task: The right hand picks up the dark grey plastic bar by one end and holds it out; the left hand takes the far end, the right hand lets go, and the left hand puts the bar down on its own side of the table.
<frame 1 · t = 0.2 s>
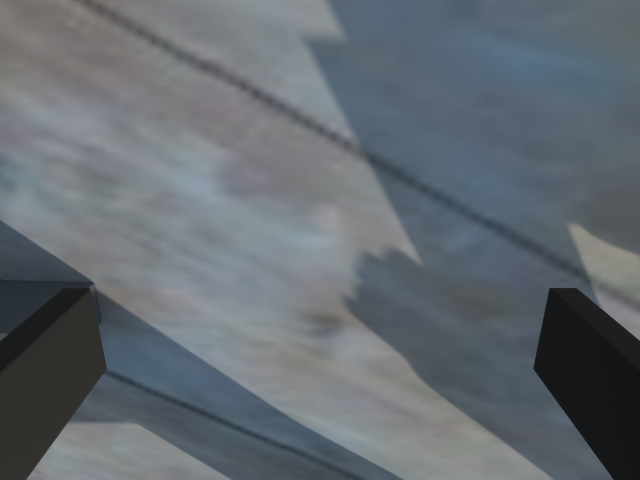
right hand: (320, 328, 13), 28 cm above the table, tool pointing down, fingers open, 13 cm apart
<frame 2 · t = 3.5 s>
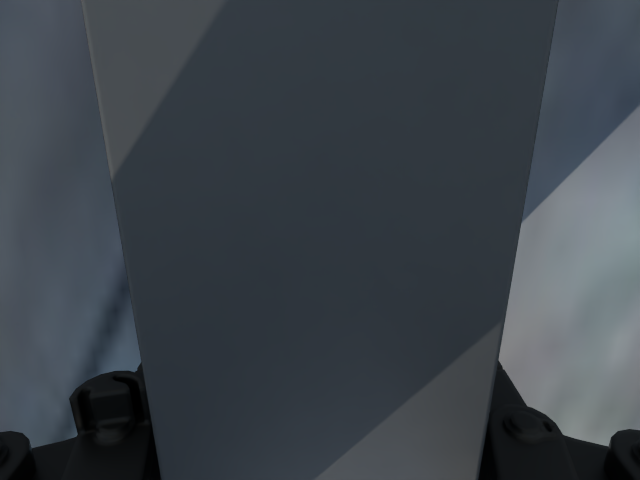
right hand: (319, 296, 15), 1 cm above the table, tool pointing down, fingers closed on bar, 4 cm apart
bar: (319, 7, 12), on the table, touching right hand
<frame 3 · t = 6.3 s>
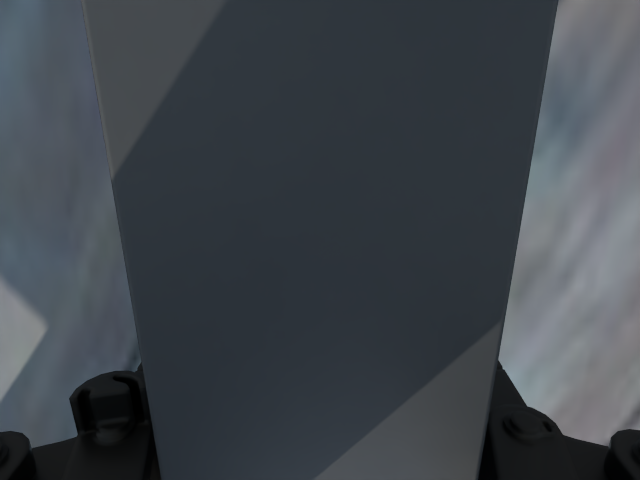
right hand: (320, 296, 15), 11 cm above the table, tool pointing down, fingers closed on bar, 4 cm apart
bar: (319, 7, 12), point 11 cm above the table, touching right hand
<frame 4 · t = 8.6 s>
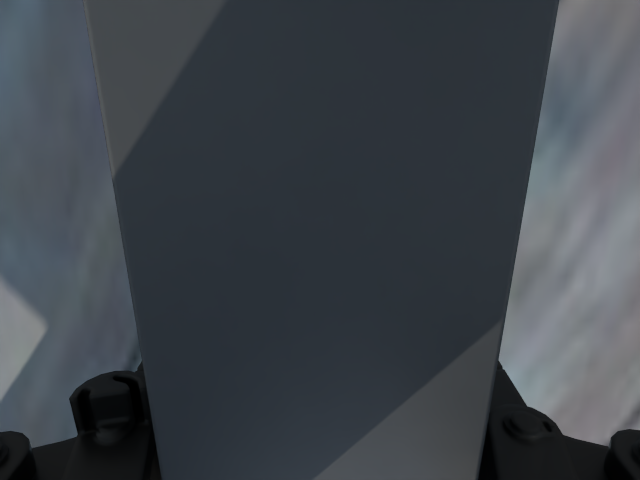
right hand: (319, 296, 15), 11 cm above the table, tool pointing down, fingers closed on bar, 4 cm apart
bar: (320, 7, 12), point 11 cm above the table, touching right hand, left hand
when the right hand's fingers open (11 cm above the table, at t = 9.2 s): bar stays where it is, held by the left hand.
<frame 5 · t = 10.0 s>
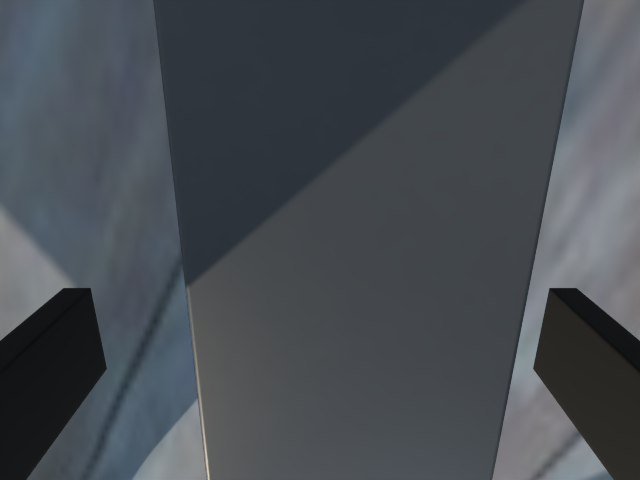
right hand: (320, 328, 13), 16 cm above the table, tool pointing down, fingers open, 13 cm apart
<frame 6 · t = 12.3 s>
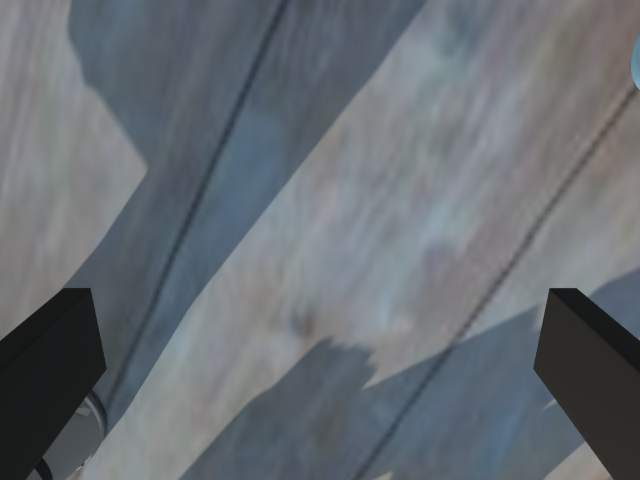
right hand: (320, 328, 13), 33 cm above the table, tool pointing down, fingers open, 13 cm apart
when the left hand's fingers open (2 cm above the table, at t = 16.0 s): bar stays where it is, on the table.
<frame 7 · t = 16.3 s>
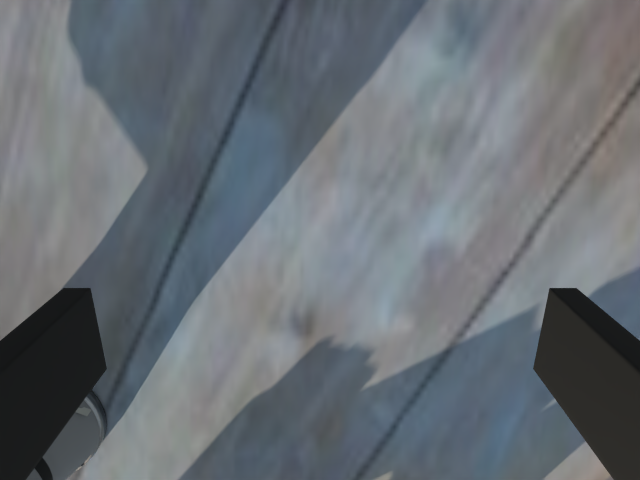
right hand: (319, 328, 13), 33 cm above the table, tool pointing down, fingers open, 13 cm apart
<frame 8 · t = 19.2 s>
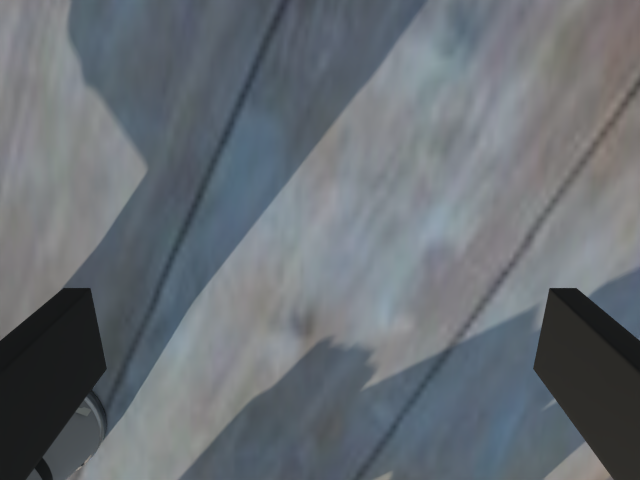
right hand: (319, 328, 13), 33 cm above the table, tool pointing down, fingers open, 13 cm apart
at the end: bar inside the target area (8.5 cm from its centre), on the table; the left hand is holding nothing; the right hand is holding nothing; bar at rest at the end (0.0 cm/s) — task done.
